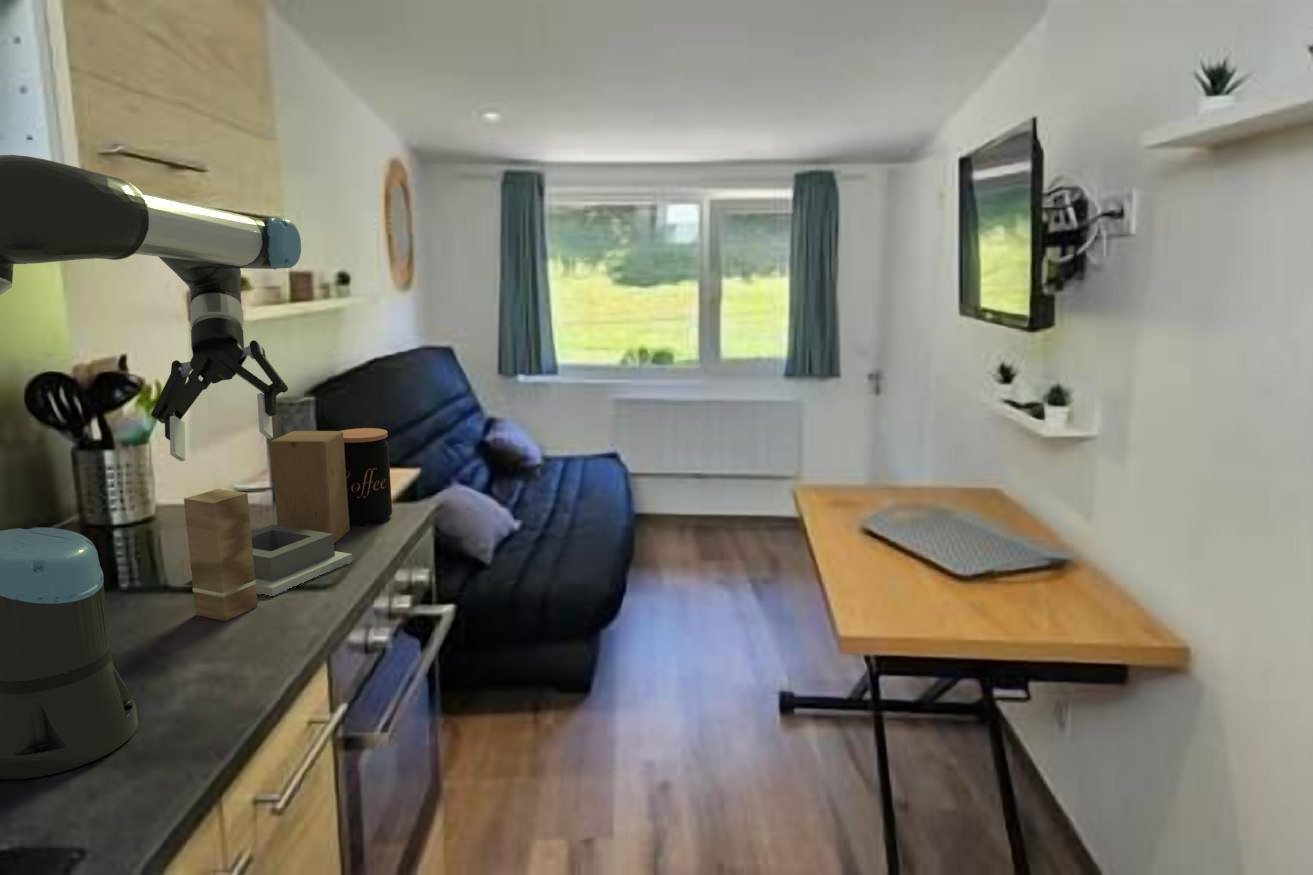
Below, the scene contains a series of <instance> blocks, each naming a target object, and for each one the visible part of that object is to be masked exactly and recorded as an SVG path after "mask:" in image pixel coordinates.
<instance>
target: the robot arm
mask: <svg viewBox="0 0 1313 875" xmlns="http://www.w3.org/2000/svg"><path fill="white" fill-rule="evenodd" d="M301 240H302V239H301V235H300V232H299V230H298V228H297V226H296V224H295V223H293V221H291V220H289V219H287V218H275V217H274V216H273V217H272V216H271V217H269V218H268V217H265V218H262V217H253V216H249V215H245V214H241V213H240V214H239V213H236V212H231V211H227V210H223V209H218V208H214V207H209V206H205V205H200V204H195V203H191V202H187V201H182V200H177V199H173V198H169V197H164V196H159V195H157V194H156V195H155V194H152V193H147V192H142V191H140V190H139V189H138V188H137V187H136V186H135V185H133V184H132V183H131V182H129V181H127V180H125V179H123V178H120V177H116V176H112V175H107V174H104V173H99V172H96V171H92V170H88V169H86V168H80V167H77V166H74V165H69V164H67V163H66V164H65V163H61V162H56V161H53V160H49V159H46V158H45V159H44V158H38V157H33V156H29V155H17V154H2V155H0V296H1V295H3V294H4V293H6V292H7V291H9V290H10V289H12V288H13V277H14V265H28V264H46V263H55V262H56V263H57V262H66V261H67V262H68V261H78V260H94V259H99V260H100V259H101V260H110V261H111V260H113V261H114V260H115V261H120V260H123V259H127V258H129V257H131V256H133V255H143V256H150V257H158V258H159V259H160V260H161V261H162V262H163V263H164V264H165V265H166V266H167V267H168V268H170V269H171V270H172V272H174V273H175V274H176V275H177V277H178V278H180V279H181V281H183V283H185V284H186V285H187V287H188V288H189V296H190V297H189V301H190V302H189V304H190V327H191V328H190V336H191V337H190V341H191V346H190V347H191V351H192V357H191V358H190V361H186V362H181V361H180V360H173V361H172V363H171V368H170V374H169V376H168V378H167V380H166V381H165V384H164V386H163V389H162V391H161V392H160V395H159V396H158V399H157V401H156V402H155V405H154V407H153V409H152V411H151V417H152V418H154V419H155V420H157V421H158V422H160V423H161V424H164V437H165V439H167V440H168V441H169V454H170V456H171V457H173V458H174V459H176V460H177V461H179V462H185V461H186V429H185V428H186V424H185V422H184V421H183V420H182V419H183V417H184V415H186V413H187V412H188V411H189V409H190V408H191V407H192V405H193V404H194V403H195V401H196V400H197V398H199V396H200V395H201V393H202V391H204V390H207V389H208V387H209V386H210V385H211V383H212V384H213V385H214V384H218V383H220V382H221V381H230V380H232V379H233V377H235V376H236V375H237V376H239V377H240V378H242V379H243V380H245V381H246V382H248V384H251V385H252V386H253V388H256V389H257V390H258V391H260V393H257V394H256V397H257V412H258V413H257V414H258V428H259V429H258V430H259V432H260V434H261V435H263V436H265V438H266V439H268V440H270V439H273V438H274V432H273V418H272V417H273V416H276V415H277V412H278V407H277V396H278V395H279V394H281V393H286V392H287V391H288V390H289V386H288V385H287V384H286V383H285V381H284V379H282V377H281V376H280V375H279V374H278V372H277V370H275V368H274V366H272V364H271V363H270V362H269V360H268V359H267V356H266V352H265V349H264V347H263V346H262V345H260V343H259V342H258V341H257V340H252V341H250V342H249V345H248V346H245V340H244V339H245V338H244V337H245V336H244V329H243V326H244V324H243V311H242V310H243V309H242V308H243V307H242V293H241V292H242V290H241V289H242V288H241V276H242V269H252V270H253V269H255V270H257V269H258V270H260V269H261V270H277V269H291V268H293V267H295V265H297V264H298V262H299V260H300V258H301V254H302V241H301ZM247 357H249V358H250V359H252V360H255V361H256V363H257V364H258V365H259V367H260V368H261V370H262V371H263V372H264V373H265V375H266V376H267V378H268V379H269V380H270V381H271V382H272V383H270V384H268V383H266V382H264V381H263V380H262V379H260V378H259V377H258V376H256V375H255V374H253V373H252V372H251V371H249V370H248V369H247V368H245V367H244V366H243V364H244V362H245V361H246V360H247ZM199 377H201V378H202V380H201V379H200V378H199ZM104 579H105V578H104V572H103V569H102V567H101V565H100V559H99V555H98V550H97V548H96V546H95V545H94V543H93V542H92V541H91V540H90V539H89V538H88V537H87V536H85V535H84V534H80V533H78V532H75V531H72V530H69V529H68V530H67V529H61V528H55V527H32V528H26V529H24V528H9V529H4V530H0V779H1V780H23V779H24V780H26V779H34V778H40V777H47V776H50V775H55V774H59V773H63V772H67V771H69V770H73V769H76V768H79V767H82V766H84V765H87V764H89V763H92V762H94V761H97V760H99V759H101V758H103V757H105V756H107V755H109V754H111V753H112V752H114V751H115V750H117V749H118V748H120V747H121V746H123V745H124V744H125V743H127V742H128V741H129V740H130V739H131V738H132V737H133V735H134V734H135V733H136V731H137V729H138V727H139V721H138V714H137V713H138V712H137V711H138V710H137V706H136V705H137V704H136V703H135V700H134V699H133V697H132V695H131V694H130V692H129V690H128V688H127V686H126V685H125V683H124V681H123V679H122V678H121V676H120V674H119V672H118V671H117V669H116V667H115V665H114V663H113V659H112V650H111V644H110V634H109V625H108V615H107V614H108V613H107V607H106V606H107V604H106V597H105V587H104V586H105V585H104V581H105V580H104Z"/></svg>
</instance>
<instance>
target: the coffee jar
mask: <svg viewBox="0 0 1313 875" xmlns="http://www.w3.org/2000/svg"><path fill="white" fill-rule="evenodd" d="M340 431H341V432H343V437H344V452H345V467H346V482H347V497H348V512H349V526H354V527H356V526H358V527H362V526H363V527H364V526H372V525H377V524H381V523H384V522H387V521H388V520H389V519H390V517H391V515H392V513H393V506H392V504H393V503H392V486H391V485H392V484H391V466H390V455H389V454H390V451H389V450H390V449H389V442H388V441H387V440H386V439H387V437H388V430H386V429H382V428H373V427H369V428H368V427H363V428H360V427H359V428H350V429H342V430H340Z"/></svg>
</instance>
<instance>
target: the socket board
mask: <svg viewBox="0 0 1313 875" xmlns="http://www.w3.org/2000/svg"><path fill="white" fill-rule="evenodd" d="M251 539H252V550H253V561H254V572H255V580H256V594H257V595H261V594H265V595H264V596H266V595H269V596H268V597H271V596H274V595H276V594H278V595H280V594H279V593H281V592H282V591H285V592H287V591H288V590H287V589H289V588H292V587H293V586H297V585H299V584H300V583H303V584H305V583H304V582H305V581H307V580H310V579H312V578H314V577H317V576H319V575H322V574H324V573H326V572H329V573H331V572H332V571H331V570H333V569H336V568H338V567H340V568H342V567H344V566H343V565H345V564H347V565H349V564H351V562H352V563H353V553H349V552H341V551H335V543H334V536H333V534H331V533H325V532H318V531H312V530H305V529H298V528H292V527H285V526H279V525H277V524H270V525H267V526H265V527H260V528H258V529H256V530H251ZM341 566H342V567H341ZM345 566H346V565H345ZM338 569H339V568H338ZM336 570H337V569H336ZM330 571H331V572H330ZM333 571H334V570H333ZM326 574H327V573H326ZM324 575H325V574H324ZM189 576H190V577H189V578H190V582H192V573H191V571H190V572H189ZM322 576H323V575H322ZM319 577H320V576H319ZM317 578H318V577H317ZM310 581H311V580H310ZM299 586H300V585H299ZM297 587H298V586H297ZM292 589H293V588H292ZM286 590H287V591H286ZM281 594H282V593H281ZM276 596H277V595H276ZM274 597H275V596H274Z"/></svg>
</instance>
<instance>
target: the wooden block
mask: <svg viewBox="0 0 1313 875" xmlns="http://www.w3.org/2000/svg"><path fill="white" fill-rule="evenodd" d="M341 431H342V430H292V431H291V432H288V433H286V434H283V435H281V436H279V437H277V438H275V439H273V440H271V441H270V451H271V464H272V473H273V474H272V477H273V486H274V488H273V490H274V498H275V499H274V500H275V501H274V502H275V511H276V513H275V514H276V525H279V526H285V527H292V528H298V529H305V530H312V531H318V532H325V533H331V534H333V536H334V544H335V543H337V541H339V540H340V539H341V538H342V537H344V536H345V535H346V534H347V533H348V532H350V528H351V527H350V526H351V525H349V512H348V497H347V482H346V467H345V452H344V437H343V432H341Z"/></svg>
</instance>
